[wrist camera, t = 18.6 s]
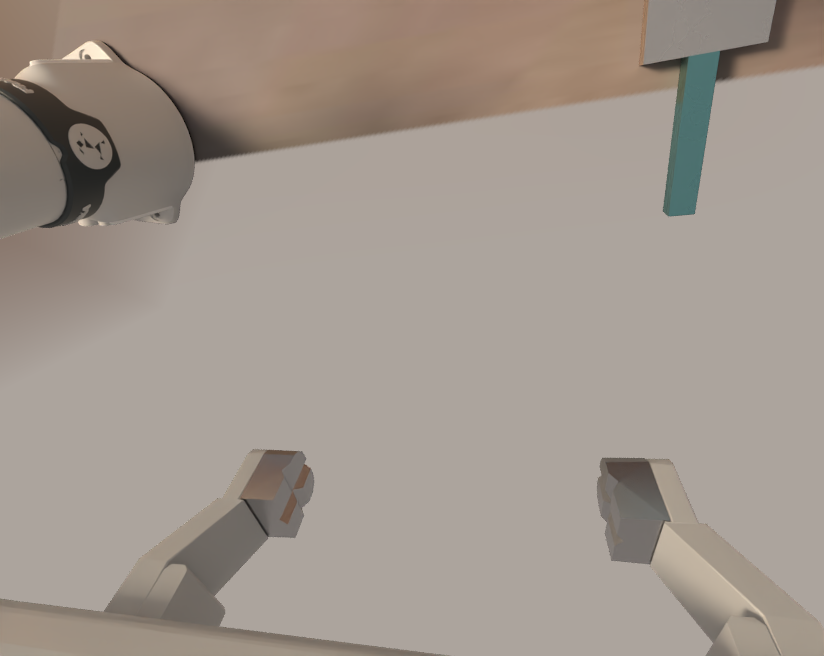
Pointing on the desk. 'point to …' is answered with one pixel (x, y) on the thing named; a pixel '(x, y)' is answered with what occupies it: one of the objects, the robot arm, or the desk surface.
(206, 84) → the desk surface
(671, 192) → the turner
